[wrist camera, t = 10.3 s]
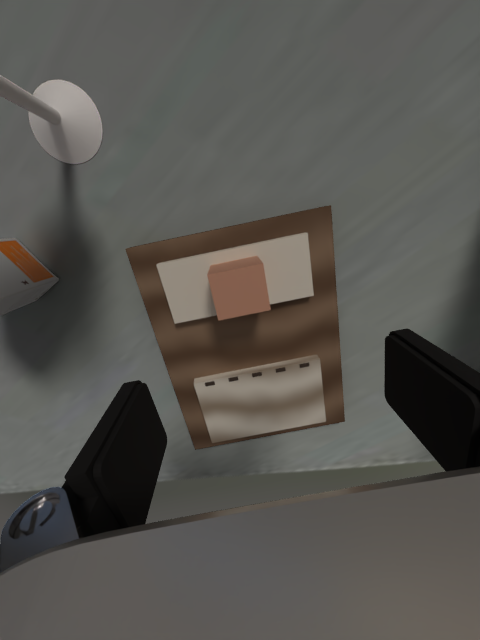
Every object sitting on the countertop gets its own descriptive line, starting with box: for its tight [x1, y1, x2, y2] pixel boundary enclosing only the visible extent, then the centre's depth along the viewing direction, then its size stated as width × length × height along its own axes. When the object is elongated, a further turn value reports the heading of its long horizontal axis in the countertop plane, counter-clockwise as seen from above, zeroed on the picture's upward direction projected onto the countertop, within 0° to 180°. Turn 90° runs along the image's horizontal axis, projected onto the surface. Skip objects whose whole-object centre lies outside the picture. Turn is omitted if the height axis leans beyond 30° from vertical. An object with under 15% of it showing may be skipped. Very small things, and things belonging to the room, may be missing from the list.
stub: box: [156, 232, 314, 324], centre depth 27 cm, size 7×16×6 cm, turn 101°
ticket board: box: [126, 206, 345, 450], centre depth 33 cm, size 29×22×3 cm
